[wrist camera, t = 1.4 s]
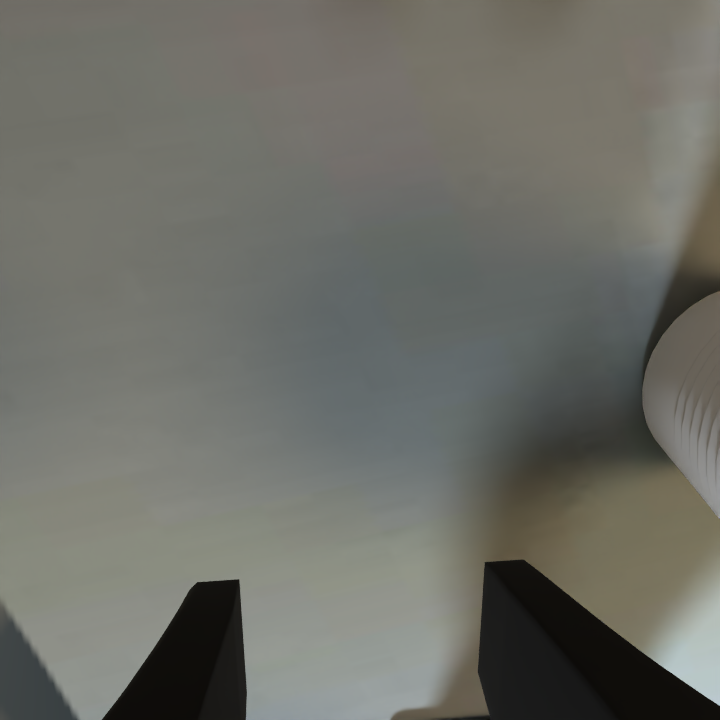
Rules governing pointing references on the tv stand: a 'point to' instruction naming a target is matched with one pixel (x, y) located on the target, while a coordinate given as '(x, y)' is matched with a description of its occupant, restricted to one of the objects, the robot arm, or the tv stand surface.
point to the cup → (689, 396)
